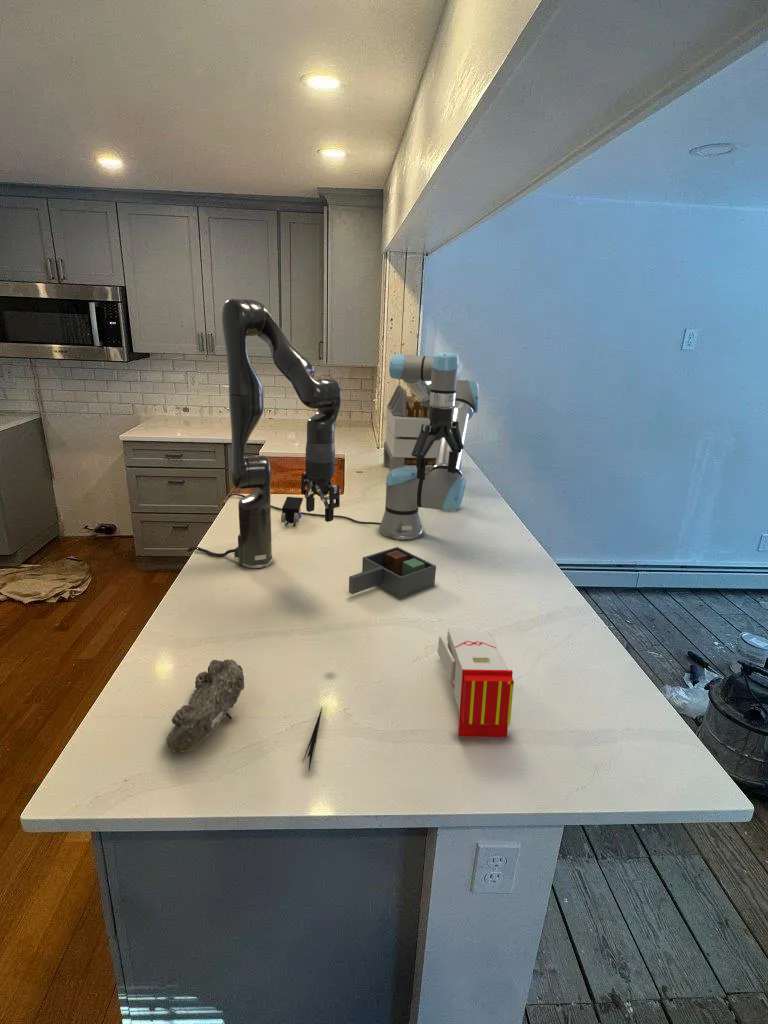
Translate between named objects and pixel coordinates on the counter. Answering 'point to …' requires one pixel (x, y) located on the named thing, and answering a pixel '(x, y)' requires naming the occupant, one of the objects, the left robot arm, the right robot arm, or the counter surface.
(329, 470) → the left robot arm
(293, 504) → the figurine character
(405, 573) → the green block
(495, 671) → the toy
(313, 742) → the feather
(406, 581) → the bin
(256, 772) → the counter surface
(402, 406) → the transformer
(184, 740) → the fossil
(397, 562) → the walnut block
